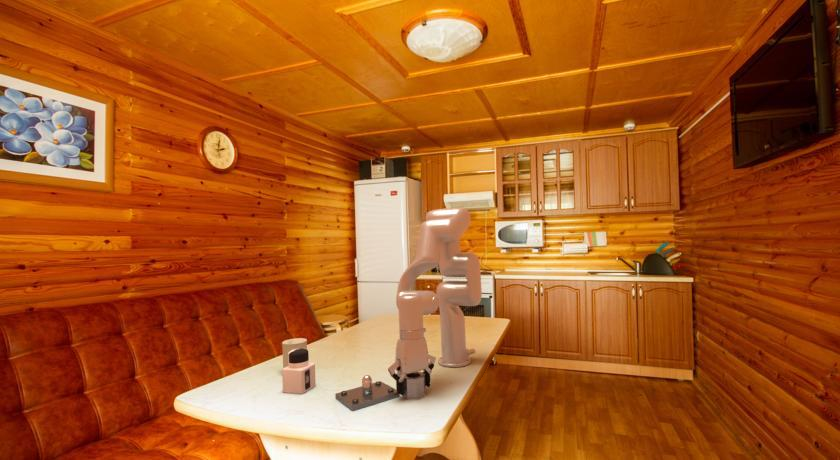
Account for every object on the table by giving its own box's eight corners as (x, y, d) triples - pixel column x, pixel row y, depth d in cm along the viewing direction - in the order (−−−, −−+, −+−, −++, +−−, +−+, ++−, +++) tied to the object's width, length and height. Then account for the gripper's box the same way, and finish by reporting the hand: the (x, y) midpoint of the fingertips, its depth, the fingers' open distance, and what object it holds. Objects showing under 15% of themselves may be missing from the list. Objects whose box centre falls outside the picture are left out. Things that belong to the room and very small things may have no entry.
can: (277, 374, 146) (276, 342, 146) (294, 366, 155) (293, 336, 155) (297, 376, 143) (296, 343, 143) (313, 368, 151) (312, 337, 152)
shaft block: (380, 385, 129) (379, 365, 129) (399, 396, 119) (398, 374, 120) (335, 398, 120) (334, 376, 120) (352, 411, 110) (351, 387, 110)
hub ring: (417, 388, 125) (416, 370, 125) (430, 395, 119) (429, 375, 119) (398, 394, 121) (397, 375, 121) (411, 401, 115) (410, 380, 115)
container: (316, 385, 132) (314, 347, 132) (302, 394, 125) (300, 353, 125) (297, 384, 134) (295, 346, 135) (282, 392, 127) (281, 352, 127)
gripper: (426, 328, 129) (429, 380, 128) (381, 337, 119) (383, 393, 118) (440, 331, 123) (443, 386, 122) (394, 341, 113) (396, 401, 112)
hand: (414, 389), depth 120 cm, fingers open, 9 cm apart
